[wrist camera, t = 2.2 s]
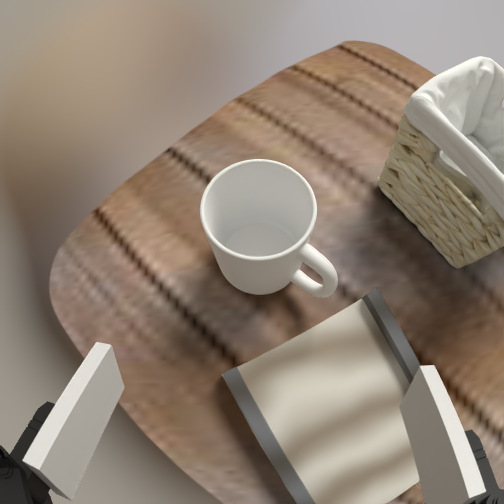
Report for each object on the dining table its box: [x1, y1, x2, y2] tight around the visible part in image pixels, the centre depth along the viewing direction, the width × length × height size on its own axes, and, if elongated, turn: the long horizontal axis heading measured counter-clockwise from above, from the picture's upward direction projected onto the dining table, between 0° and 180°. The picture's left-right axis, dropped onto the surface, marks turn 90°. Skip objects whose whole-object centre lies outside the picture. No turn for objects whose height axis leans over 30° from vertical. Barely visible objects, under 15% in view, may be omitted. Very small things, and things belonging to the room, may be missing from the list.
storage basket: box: [377, 56, 504, 269], centre depth 27 cm, size 24×16×15 cm
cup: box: [200, 159, 338, 298], centre depth 26 cm, size 8×12×10 cm
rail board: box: [222, 288, 421, 504], centre depth 23 cm, size 20×16×3 cm
